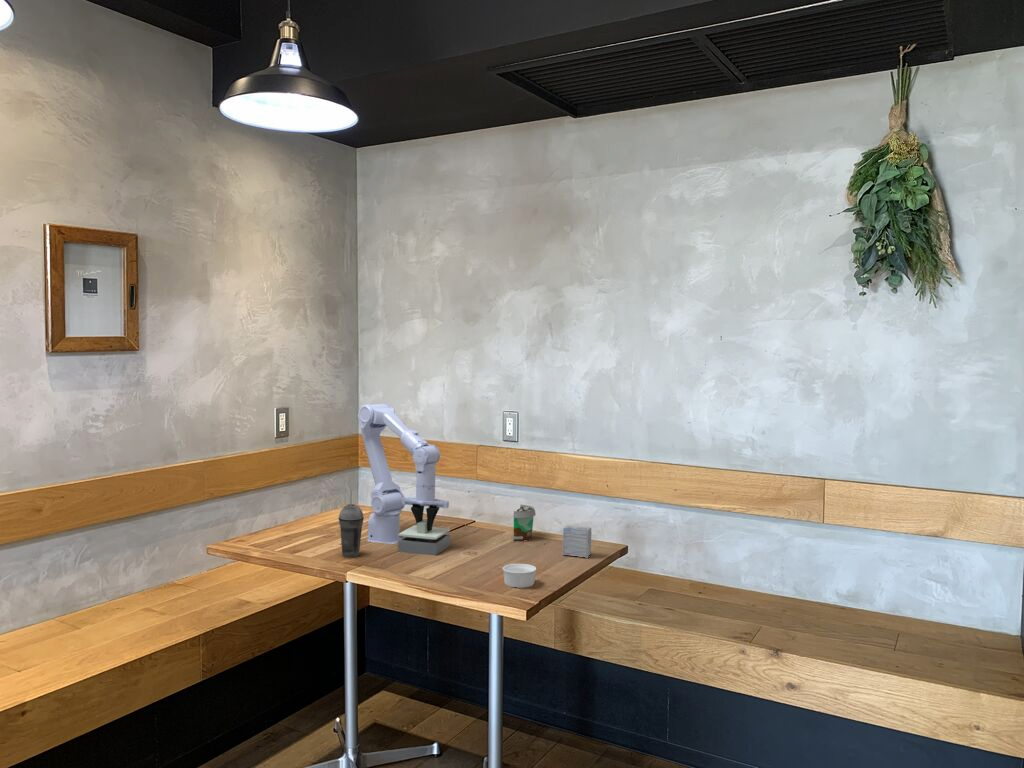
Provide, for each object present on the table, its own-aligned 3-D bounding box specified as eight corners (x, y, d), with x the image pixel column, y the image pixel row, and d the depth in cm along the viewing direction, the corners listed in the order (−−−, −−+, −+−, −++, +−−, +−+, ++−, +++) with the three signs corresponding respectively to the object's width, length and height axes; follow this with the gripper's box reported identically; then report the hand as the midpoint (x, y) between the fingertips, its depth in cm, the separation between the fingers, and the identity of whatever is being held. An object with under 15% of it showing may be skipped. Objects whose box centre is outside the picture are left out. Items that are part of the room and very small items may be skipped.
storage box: (398, 553, 230) (398, 540, 230) (414, 544, 241) (414, 531, 241) (435, 557, 226) (435, 543, 226) (449, 547, 238) (450, 534, 238)
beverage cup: (341, 562, 219) (342, 492, 218) (335, 555, 226) (335, 488, 225) (366, 559, 222) (367, 490, 222) (359, 553, 229) (360, 486, 228)
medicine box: (591, 555, 233) (592, 527, 233) (587, 559, 229) (588, 530, 228) (566, 552, 236) (566, 524, 235) (562, 556, 231) (563, 527, 231)
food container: (531, 543, 245) (532, 512, 245) (512, 542, 247) (513, 511, 246) (537, 535, 257) (538, 505, 257) (519, 533, 259) (520, 504, 258)
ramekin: (497, 586, 200) (497, 570, 200) (509, 577, 209) (510, 561, 208) (529, 590, 197) (529, 574, 197) (540, 581, 205) (541, 565, 205)
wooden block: (427, 548, 234) (428, 542, 234) (428, 546, 237) (428, 539, 236) (437, 548, 234) (437, 542, 234) (438, 546, 237) (438, 539, 237)
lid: (398, 537, 230) (398, 523, 229) (414, 528, 241) (414, 515, 241) (435, 540, 226) (436, 527, 226) (450, 531, 238) (450, 519, 238)
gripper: (398, 485, 231) (397, 530, 232) (443, 489, 227) (442, 534, 228) (407, 482, 238) (406, 525, 239) (451, 485, 234) (450, 529, 235)
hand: (424, 529), depth 234 cm, fingers closed on lid, 2 cm apart
